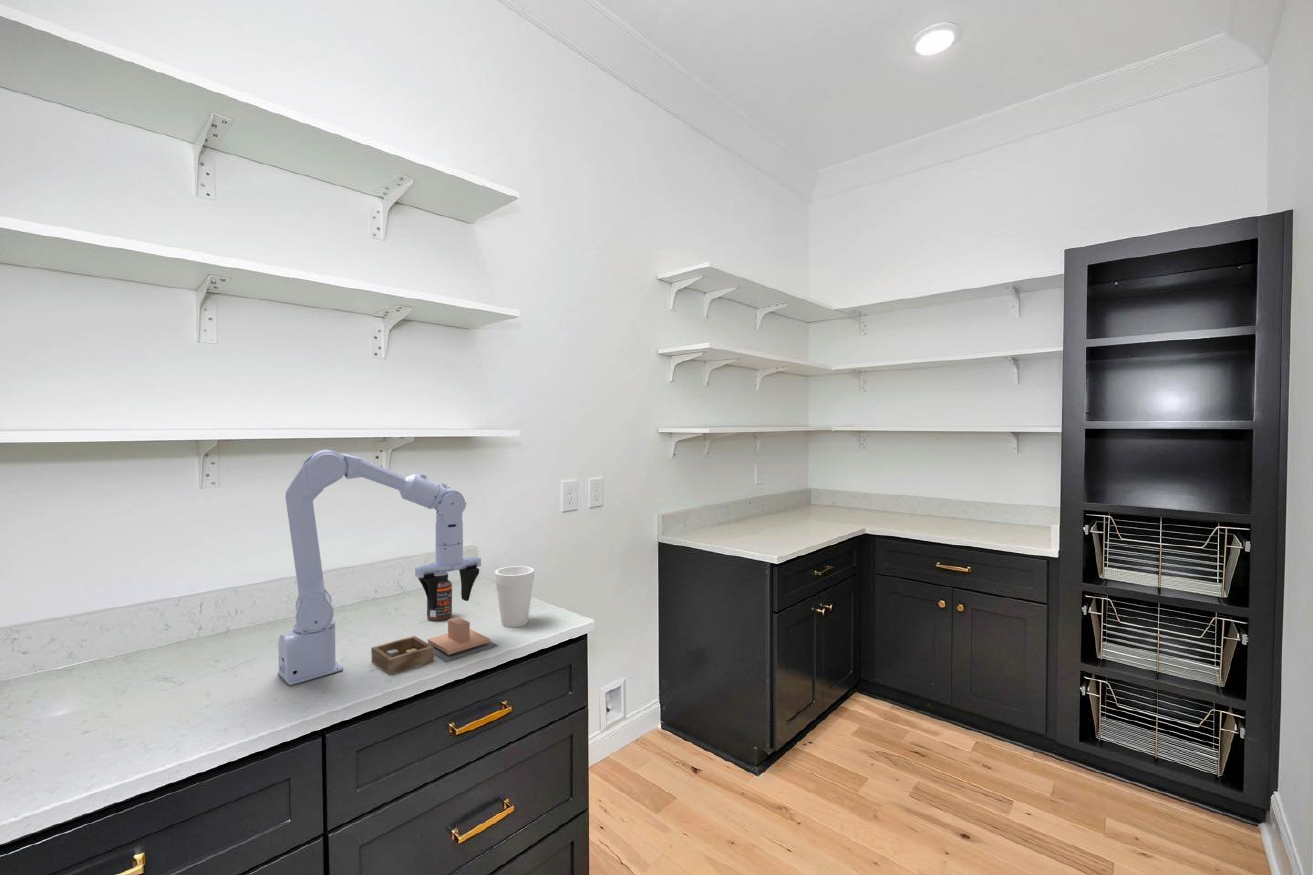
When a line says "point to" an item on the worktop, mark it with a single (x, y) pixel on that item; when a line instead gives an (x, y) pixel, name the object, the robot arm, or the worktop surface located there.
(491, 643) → the mat
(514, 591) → the foam cup
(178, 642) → the worktop surface
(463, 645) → the lid
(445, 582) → the supplement bottle
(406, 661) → the box
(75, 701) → the worktop surface
